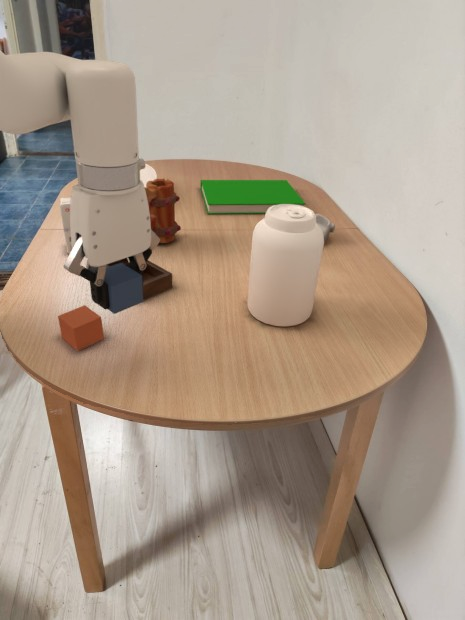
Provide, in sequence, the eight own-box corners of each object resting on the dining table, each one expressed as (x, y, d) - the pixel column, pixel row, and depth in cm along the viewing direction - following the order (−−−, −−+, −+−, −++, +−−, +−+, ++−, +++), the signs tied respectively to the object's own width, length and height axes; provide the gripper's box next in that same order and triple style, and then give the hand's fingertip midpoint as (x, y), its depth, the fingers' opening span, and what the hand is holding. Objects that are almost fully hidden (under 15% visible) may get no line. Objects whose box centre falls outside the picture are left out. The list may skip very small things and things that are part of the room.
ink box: (104, 242, 109) (98, 194, 102) (106, 251, 105) (101, 202, 98) (66, 246, 106) (58, 197, 100) (67, 255, 102) (59, 204, 96)
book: (304, 213, 132) (305, 203, 130) (208, 214, 127) (208, 204, 126) (285, 188, 150) (286, 179, 149) (200, 188, 146) (200, 179, 144)
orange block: (77, 351, 74) (73, 328, 71) (61, 337, 77) (57, 315, 74) (104, 338, 77) (101, 316, 74) (88, 326, 80) (84, 304, 77)
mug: (159, 229, 117) (157, 171, 109) (186, 236, 114) (185, 177, 106) (122, 250, 106) (117, 186, 97) (151, 258, 103) (148, 194, 94)
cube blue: (114, 314, 63) (111, 286, 61) (94, 299, 66) (91, 272, 64) (143, 302, 67) (142, 275, 64) (123, 288, 69) (121, 262, 67)
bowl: (160, 212, 127) (159, 190, 124) (105, 213, 124) (102, 191, 121) (155, 179, 151) (154, 160, 148) (108, 179, 149) (106, 161, 145)
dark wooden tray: (138, 302, 87) (137, 287, 85) (92, 272, 96) (90, 258, 94) (172, 287, 92) (172, 273, 91) (126, 260, 101) (124, 247, 99)
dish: (337, 238, 118) (340, 220, 115) (309, 254, 108) (312, 235, 106) (290, 222, 125) (292, 205, 122) (260, 237, 116) (262, 218, 113)
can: (324, 312, 87) (343, 213, 76) (281, 336, 80) (296, 231, 69) (276, 286, 95) (287, 193, 84) (233, 307, 87) (239, 207, 76)
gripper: (145, 157, 64) (149, 271, 74) (27, 178, 53) (51, 308, 63) (180, 170, 60) (180, 289, 70) (60, 196, 49) (80, 332, 59)
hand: (118, 297), depth 66 cm, fingers closed on cube blue, 5 cm apart
